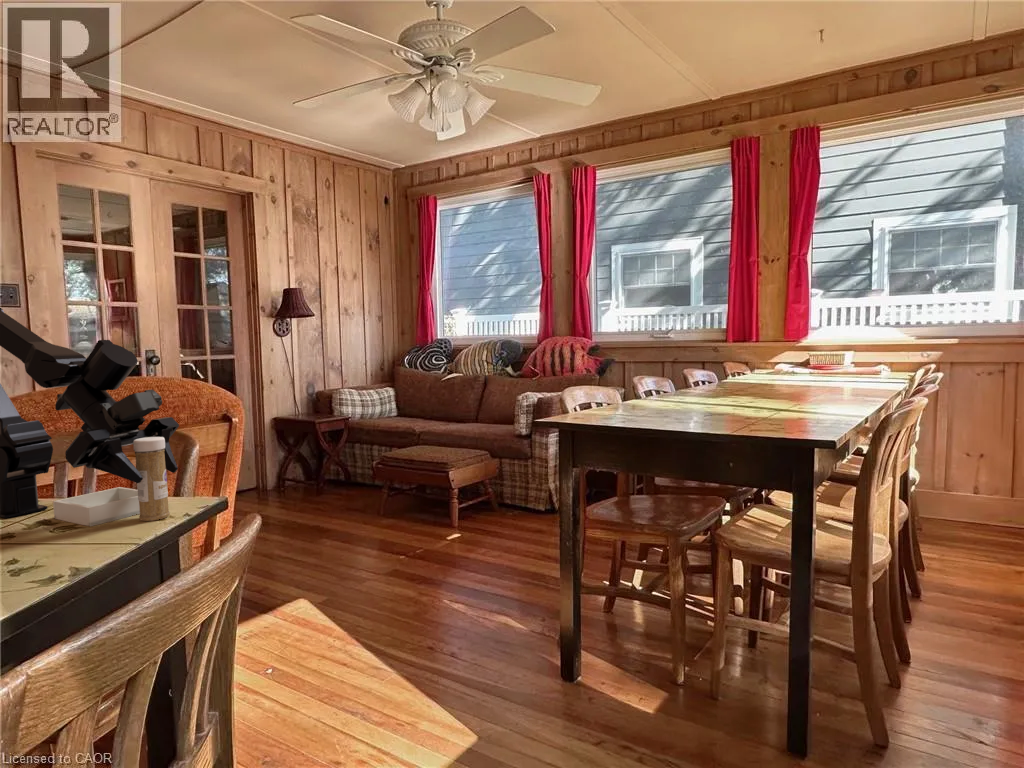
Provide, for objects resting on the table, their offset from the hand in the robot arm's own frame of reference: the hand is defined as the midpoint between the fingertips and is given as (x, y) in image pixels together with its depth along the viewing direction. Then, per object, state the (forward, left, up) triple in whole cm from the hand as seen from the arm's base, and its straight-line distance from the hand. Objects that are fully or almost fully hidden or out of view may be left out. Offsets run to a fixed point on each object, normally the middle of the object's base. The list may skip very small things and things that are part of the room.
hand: (158, 475), depth 105 cm
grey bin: (-12, -2, -7) cm, 14 cm away
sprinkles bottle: (-1, 0, -7) cm, 7 cm away
